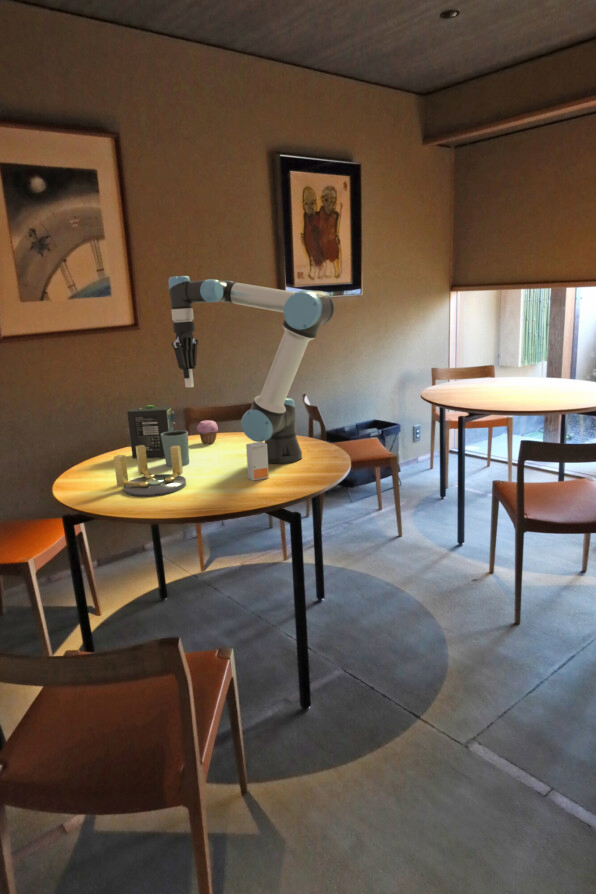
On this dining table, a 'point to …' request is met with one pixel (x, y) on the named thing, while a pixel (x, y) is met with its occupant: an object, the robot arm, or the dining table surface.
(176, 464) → the tan l-shaped bracket
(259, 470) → the skincare box
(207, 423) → the cupcake
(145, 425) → the router
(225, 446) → the dining table surface
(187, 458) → the grey cup
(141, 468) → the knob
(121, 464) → the ball-tipped golden bracket
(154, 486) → the levelling plate
